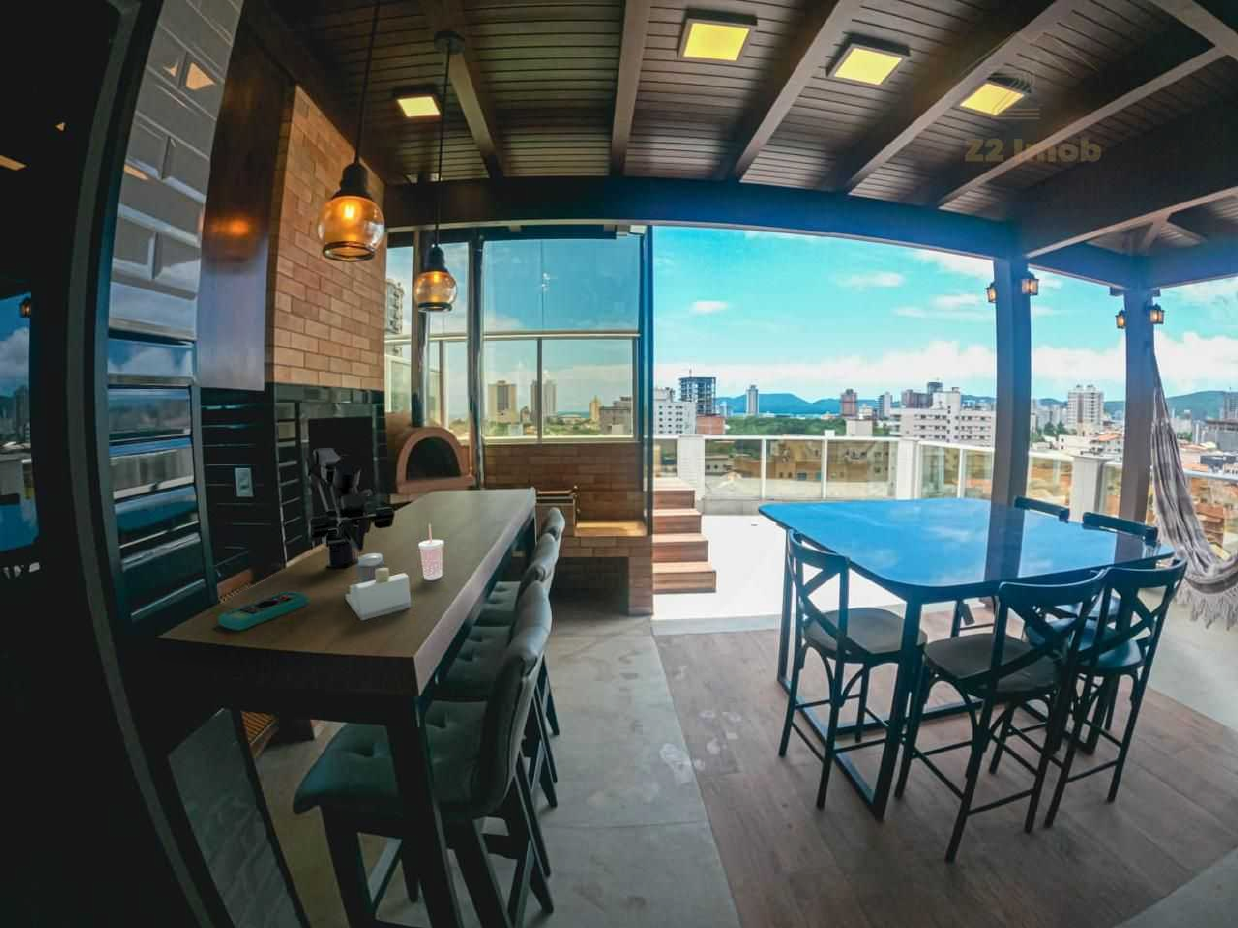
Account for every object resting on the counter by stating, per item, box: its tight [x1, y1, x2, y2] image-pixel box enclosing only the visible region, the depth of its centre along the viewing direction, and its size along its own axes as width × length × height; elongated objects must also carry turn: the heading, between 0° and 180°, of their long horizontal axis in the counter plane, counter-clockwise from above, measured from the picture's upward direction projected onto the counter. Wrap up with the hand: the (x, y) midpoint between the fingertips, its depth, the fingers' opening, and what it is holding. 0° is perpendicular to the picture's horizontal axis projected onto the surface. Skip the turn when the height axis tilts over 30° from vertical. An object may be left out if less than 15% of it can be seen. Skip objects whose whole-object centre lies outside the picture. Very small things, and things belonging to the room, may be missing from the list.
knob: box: [355, 552, 387, 584], centre depth 113 cm, size 5×5×9 cm
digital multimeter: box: [217, 590, 308, 632], centre depth 106 cm, size 7×15×3 cm, turn 156°
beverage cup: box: [418, 523, 444, 581], centre depth 127 cm, size 6×6×14 cm
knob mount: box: [345, 567, 412, 621], centre depth 111 cm, size 14×10×9 cm
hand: (360, 550), depth 120 cm, fingers closed
